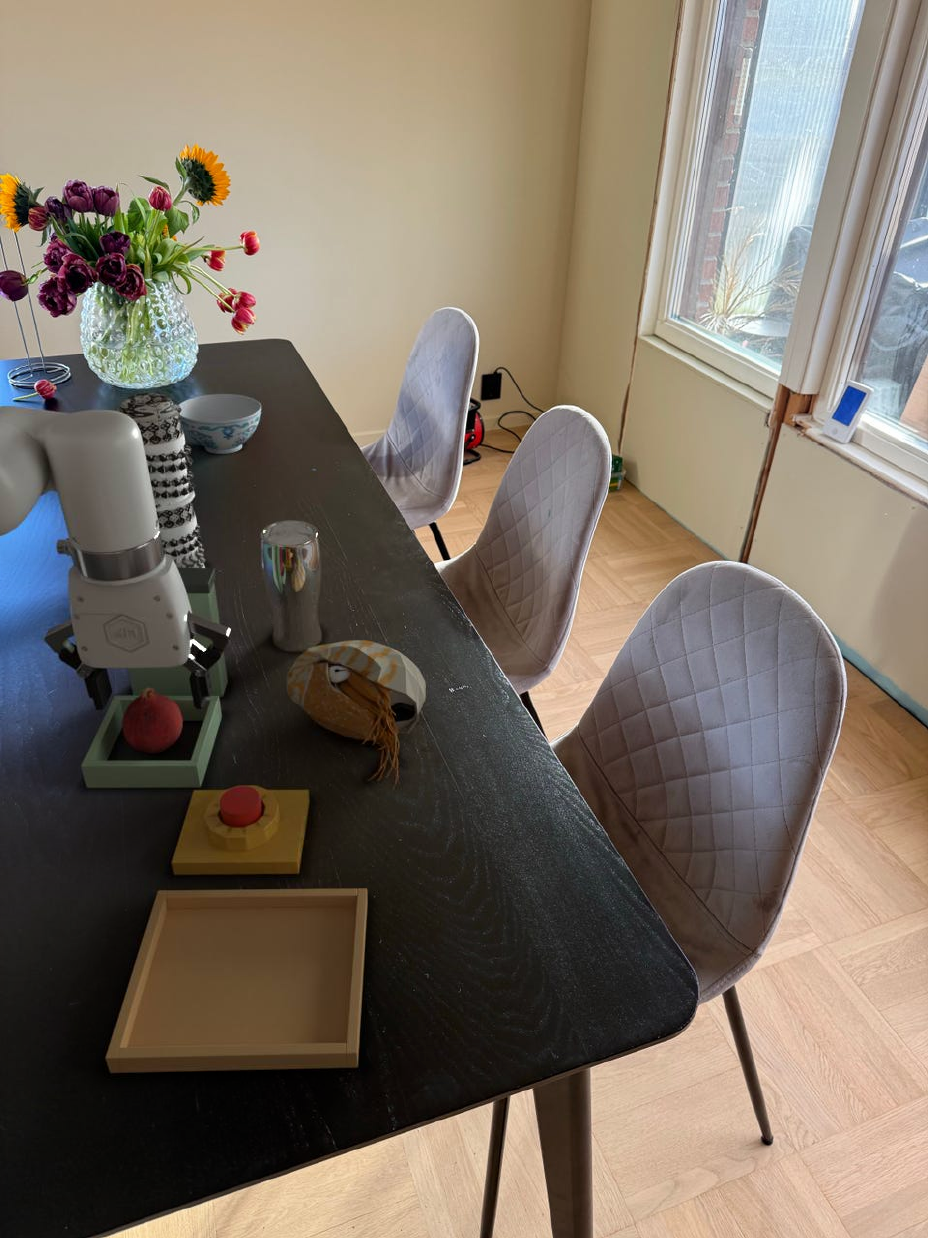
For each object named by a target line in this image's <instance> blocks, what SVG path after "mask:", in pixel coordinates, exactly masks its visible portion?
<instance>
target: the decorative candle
mask: <svg viewBox="0 0 928 1238" xmlns="http://www.w3.org/2000/svg"><path fill="white" fill-rule="evenodd" d="M178 405H179V404H177V403H174V402H173V401H172V399H171V398H170V397H168V396H166V395H164V394H159V393H151V392H150V393H147V392H145V393H138V394H134V395H131V396H128V397H126V398H125V399H123V400H122V401H121V404H120V405H119V407H118V408H116V409H115V411H117V412H121V413H123V414H125V415H127V416H129V417H131V418H132V419H133V420H134V421H135V422H136V424H137V425H138V427H139V429H140V432H141V436H142V440H143V445H144V450H145V455H146V461H147V466H148V471H149V476H150V481H151V486H152V491H153V496H154V502H155V507H156V512H157V517H158V522H159V528H160V533H161V538H162V543H163V548H164V553H165V554H168V555H170V556H171V557H172V559H173V561H174V563H175V565H176V567H177V568H206V566H205V562H206V559H205V558H204V554H203V553H204V551H205V549H204V548H202V547H203V544H202V543H201V542H202V541H203V538H202V537H201V533H200V532H201V526H200V523H199V522H197V521H198V520H197V515H196V512H195V510H194V504H193V500H194V498H195V497H196V493H195V489H196V485H195V483H194V482H193V479H194V476H195V474H194V472H192V471H191V470H190V469H188V468H190V467H191V466H192V464H193V463H194V460H193V459H192V457H191V456H189V455H191V453H192V448H191V446H189V445H188V444H186V439H185V432H184V429H183V427H182V425H181V420H180V414H179V413H180V412H181V411H182V410H181V408H180V406H178Z"/></svg>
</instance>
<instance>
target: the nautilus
mask: <svg viewBox="0 0 928 1238" xmlns="http://www.w3.org/2000/svg"><path fill="white" fill-rule="evenodd" d="M285 683H286V684H285V685H286V692H287V695H288V697H289V698H290V700H291V701H292V702H293V703H294V704H296V705H297V706H299V707H301V709H302V710H303V711H305V713H306V714H307V715H308V716H309V717H310V718H311V719H312V720H313V721H314V722H315V723H316V724H318V725H319V726H321V727H323V728H324V729H325V730H328V731H330V732H333V733H335V734H338V735H340V736H343V737H345V738H351V739H355V740H358V741H360V740H364V741H363V742H362V743H361V745H364V744H365V743H366V742H367V741H373V743H372V746H374V745H375V744H376V745H379V746H380V747H379V748H377V751H381V753H380V763H379V766H378V769H377V771H376V772H375V773H374V774H373V775H372V776H371V777H370V778H369V779H367V782H369V781H371V780H372V779H374V778H375V777H376V776H378V775H379V773H380V772H381V773H380V775H379V778H378V779H377V782H379V781H380V780H381V779H382V777H383V774H384V772H385V770H386V767H387V763H388V761H389V764H390V766H391V767H390V768H389V769H388V772H387V774H386V775H385V778H388V777H389V776H390V773H391V772H392V770H394V772H395V779H394V783H393V787H392V790H394V789H395V787H396V784H397V781H398V779H400V776H399V764H400V762H399V758H398V755H399V756H401V754H400V752H399V750H400V744H401V743H400V741H399V738H398V735H399V734H401V735H409V734H410V733H411V732H412V730H413V729H414V728H415V726H416V725H417V724H418V720H419V713H420V712H421V709H422V708H423V706H424V703H425V701H426V700H427V696H426V695H427V694H426V693H427V692H426V691H427V688H426V680H425V678H424V677H423V674H422V673H421V671H420V669H419V667H418V666H416V665H415V664H414V663H413V662H412V661H411V660H410V658H408V657H407V656H406V655H405V654H403V653H402V652H400V651H399V650H396V649H394V648H392V647H391V646H390V647H389V646H386V645H384V644H381V643H378V642H374V641H370V640H368V639H363V640H361V639H357V640H356V639H355V640H344V641H338V642H334V643H327V644H321V645H316V646H315V647H311V648H308V649H307V650H305V651H302V653H301V654H300V655H299V656H298V657H297V658H296V659H295V660H294V661H293V663H292V665H291V667H290V669H289V670H288V672H287V676H286V681H285ZM385 752H386V754H385V758H384V753H385ZM391 755H392V757H391ZM383 760H384V761H383Z"/></svg>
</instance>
